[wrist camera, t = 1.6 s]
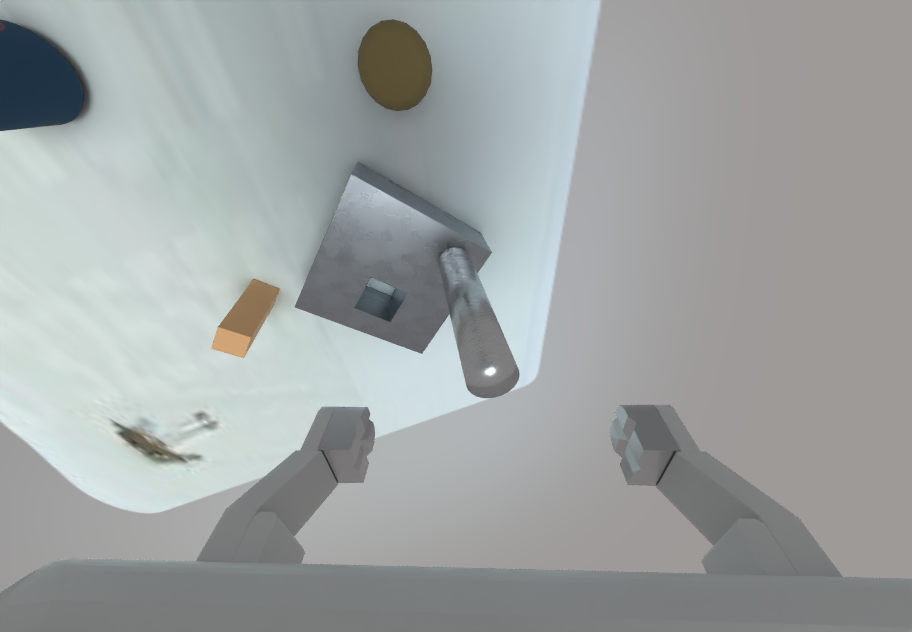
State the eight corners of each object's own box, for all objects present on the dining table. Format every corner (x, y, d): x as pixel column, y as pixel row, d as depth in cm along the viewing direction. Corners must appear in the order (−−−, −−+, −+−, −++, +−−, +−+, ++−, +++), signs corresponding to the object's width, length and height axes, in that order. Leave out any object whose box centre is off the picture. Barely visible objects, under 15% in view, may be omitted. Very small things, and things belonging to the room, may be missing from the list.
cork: (435, 99, 33) (450, 103, 24) (378, 118, 33) (371, 129, 24) (416, 21, 30) (424, -8, 21) (351, 43, 30) (332, 24, 21)
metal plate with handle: (306, 281, 42) (226, 451, 22) (357, 162, 35) (308, 255, 16) (419, 326, 48) (434, 490, 29) (480, 232, 42) (555, 362, 22)
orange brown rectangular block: (247, 297, 42) (211, 348, 34) (253, 279, 41) (218, 327, 33) (272, 306, 43) (243, 358, 35) (279, 288, 42) (251, 337, 34)
